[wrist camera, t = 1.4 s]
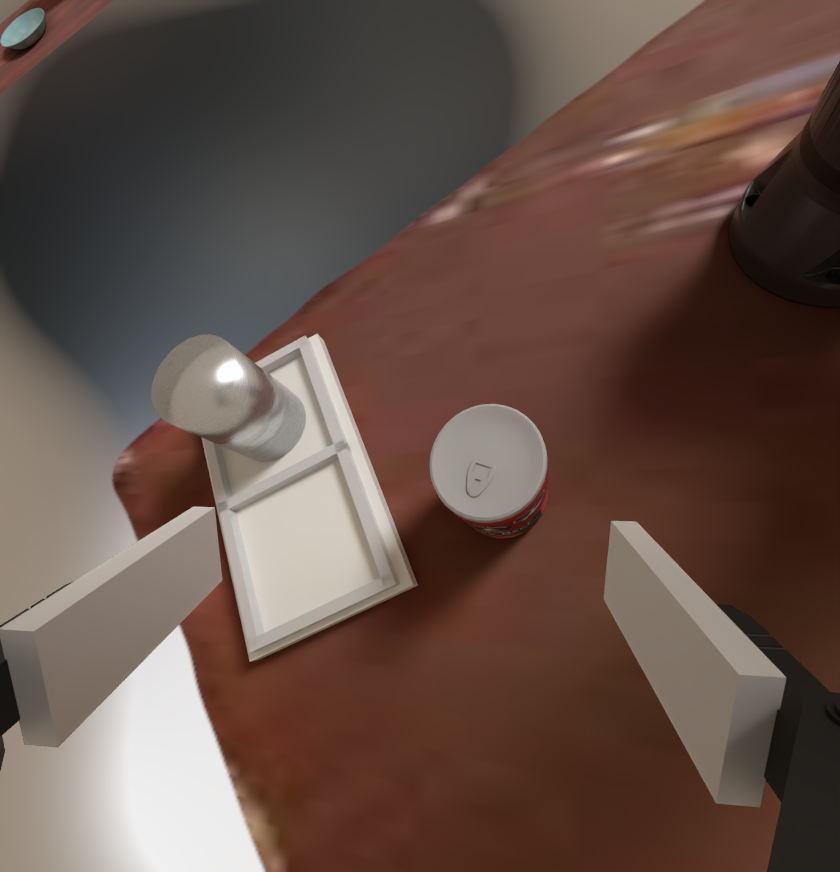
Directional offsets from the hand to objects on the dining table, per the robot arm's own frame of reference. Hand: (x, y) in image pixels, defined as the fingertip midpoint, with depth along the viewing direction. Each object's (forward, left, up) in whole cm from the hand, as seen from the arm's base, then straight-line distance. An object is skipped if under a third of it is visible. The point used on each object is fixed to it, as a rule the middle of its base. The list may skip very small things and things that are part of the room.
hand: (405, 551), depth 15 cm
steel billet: (+14, -22, -23) cm, 35 cm away
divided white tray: (+14, -16, -24) cm, 32 cm away
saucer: (+43, -143, -25) cm, 151 cm away
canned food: (-4, -6, -25) cm, 25 cm away
